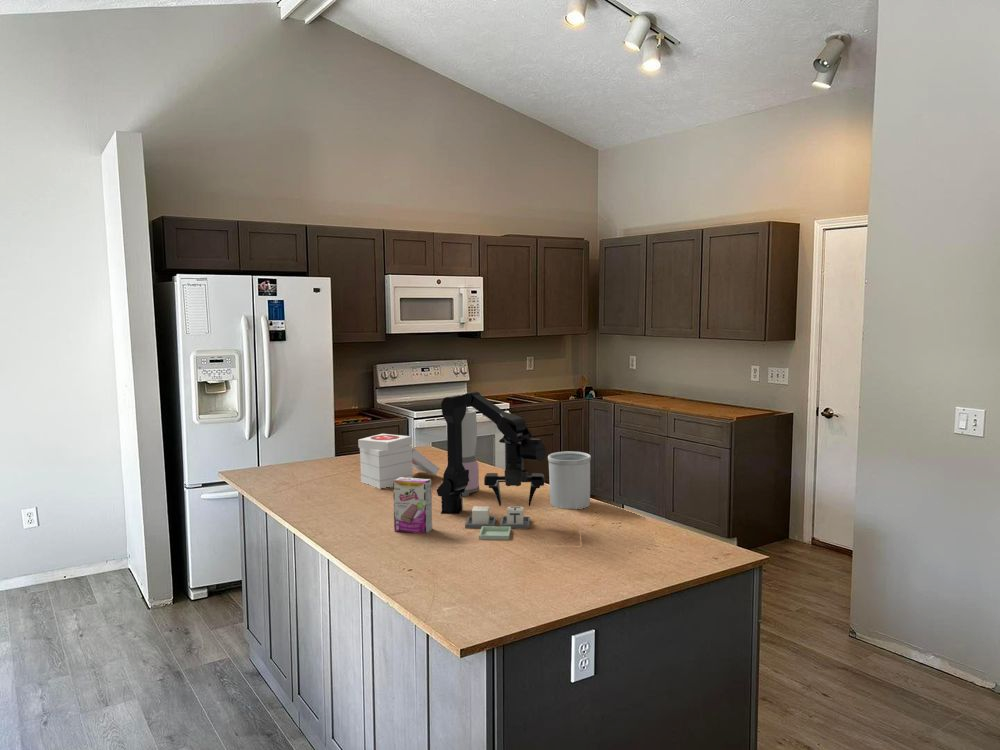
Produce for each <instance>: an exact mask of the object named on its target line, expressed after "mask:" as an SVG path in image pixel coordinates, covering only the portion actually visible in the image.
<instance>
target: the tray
mask: <svg viewBox="0 0 1000 750" xmlns="http://www.w3.org/2000/svg"><path fill="white" fill-rule="evenodd" d="M511 532H512V529H511V527H500V526H496V525H495V526H482V528H480V531H479V534H478V540H483V541H484V540H491V541H492V540H493V541H496V540H501V541H502V540H503V541H508V540H509V541H510V536H511Z"/></svg>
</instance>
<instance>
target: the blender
mask: <svg viewBox="0 0 1000 750" xmlns="http://www.w3.org/2000/svg"><path fill="white" fill-rule="evenodd" d="M476 411H477V410H473V409H469V406H468V407H466V414H465V416H464V418H463V421H462V464H463V466H464V468H465V470H469V480H470V481H468V485H467V486H466V488H465V492H464V493H461V496H462V497H469V493H470V494H471V493H475V492H478V491H479V490H480V483H479V482H480V475H479V474H480V472H479V471H480V468H479V463H478V460H477V459H476V448H477V440H478V426H477V425H478V423H477V412H476ZM445 422H446V421H445ZM445 426H446V427H445V429H446V434H447V422H446V424H445ZM447 465H448V462H447V463H446V466H445V469H446V468H447Z"/></svg>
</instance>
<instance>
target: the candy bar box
mask: <svg viewBox="0 0 1000 750" xmlns="http://www.w3.org/2000/svg"><path fill="white" fill-rule="evenodd" d="M392 488H393V527H394V528H393V529H394V532H401V531H403V532H404V533H411V532H412V533H419V534H427V533H428V532H430V531H432V530H433V506H432V505H433V503H432V502H433V501H432V499H433V498H432V496H433V495H432V479H431V478H419V477H417V478H416V477H413V478H408V477H399V478H397V479H394V480H393V487H392Z"/></svg>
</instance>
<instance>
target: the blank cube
mask: <svg viewBox="0 0 1000 750" xmlns="http://www.w3.org/2000/svg"><path fill="white" fill-rule="evenodd" d="M471 516H472V524H489V516H490V506H487V505H486V506H485V505H484V506H475V505H473V507H472V510H471Z"/></svg>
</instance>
